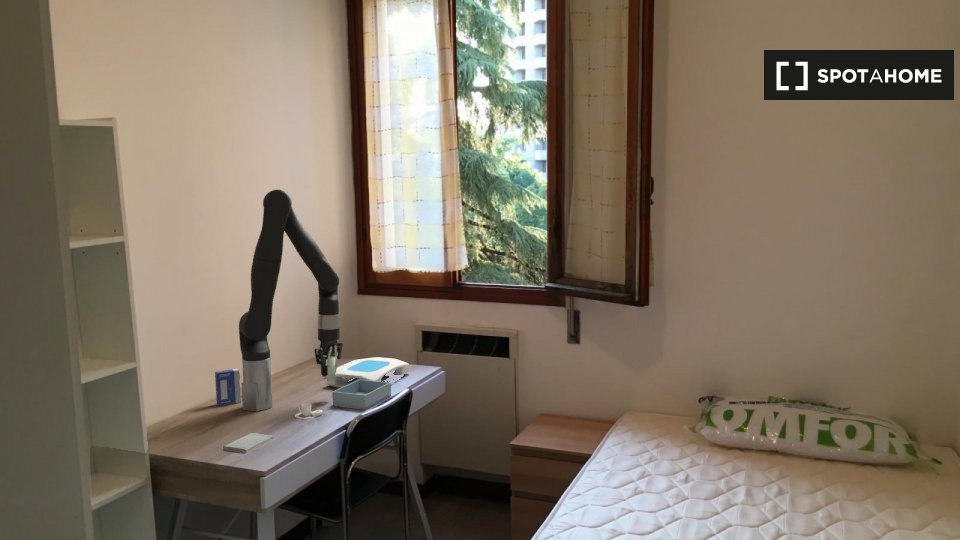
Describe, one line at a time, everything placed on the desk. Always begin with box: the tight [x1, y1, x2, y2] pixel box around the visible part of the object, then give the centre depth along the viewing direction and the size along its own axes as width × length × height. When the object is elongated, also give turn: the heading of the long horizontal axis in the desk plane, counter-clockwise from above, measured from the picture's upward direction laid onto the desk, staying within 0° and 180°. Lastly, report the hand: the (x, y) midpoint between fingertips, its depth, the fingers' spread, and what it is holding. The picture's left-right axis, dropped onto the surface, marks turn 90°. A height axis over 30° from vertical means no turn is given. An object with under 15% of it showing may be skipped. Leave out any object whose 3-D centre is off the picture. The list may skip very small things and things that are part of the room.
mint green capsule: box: [321, 355, 335, 381], centre depth 260 cm, size 5×5×8 cm
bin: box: [331, 378, 392, 411], centre depth 259 cm, size 17×13×5 cm
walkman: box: [214, 368, 242, 407], centre depth 257 cm, size 8×3×12 cm, turn 123°
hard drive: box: [222, 432, 274, 454], centre depth 217 cm, size 2×8×12 cm
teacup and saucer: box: [294, 402, 323, 420], centre depth 244 cm, size 9×8×4 cm
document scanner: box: [326, 356, 410, 389], centre depth 285 cm, size 21×28×6 cm
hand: (328, 373), depth 260 cm, fingers closed on mint green capsule, 4 cm apart
